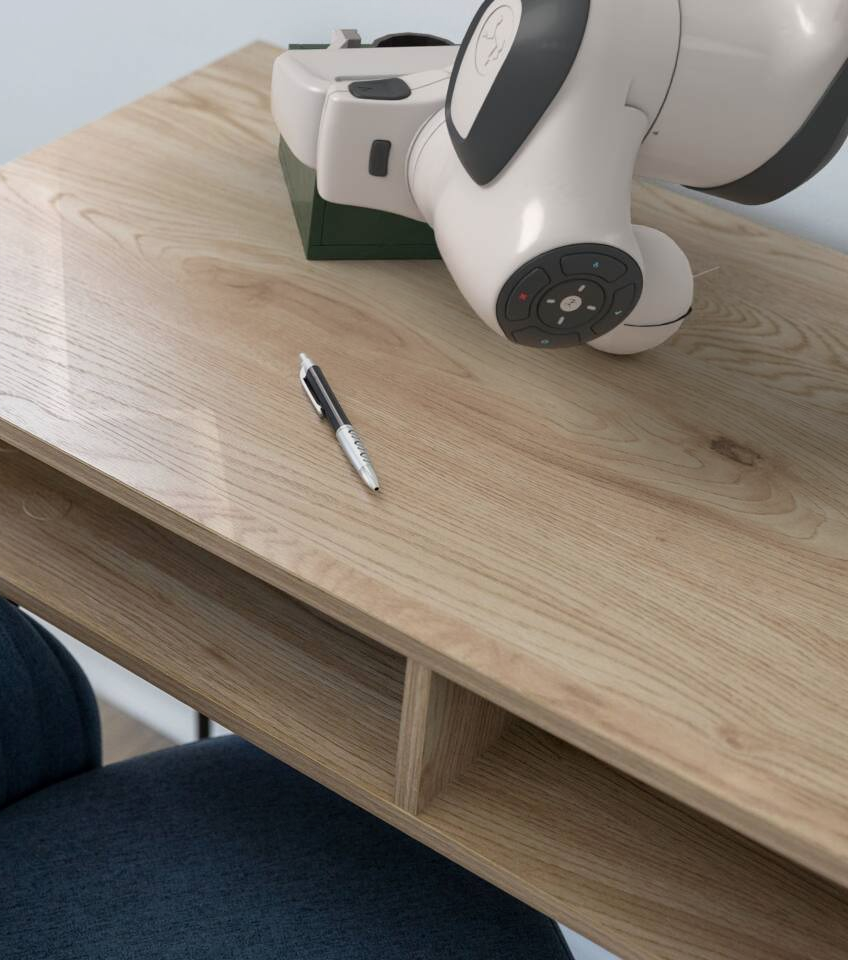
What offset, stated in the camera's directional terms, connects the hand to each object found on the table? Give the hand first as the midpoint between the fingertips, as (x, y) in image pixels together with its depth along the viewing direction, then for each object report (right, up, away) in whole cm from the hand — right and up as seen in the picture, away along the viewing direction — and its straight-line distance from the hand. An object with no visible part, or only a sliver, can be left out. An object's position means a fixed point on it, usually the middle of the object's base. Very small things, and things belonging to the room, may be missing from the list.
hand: (417, 38), depth 99 cm
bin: (0, -9, +6) cm, 11 cm away
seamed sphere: (+11, -19, -5) cm, 23 cm away
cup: (0, -8, +6) cm, 10 cm away
